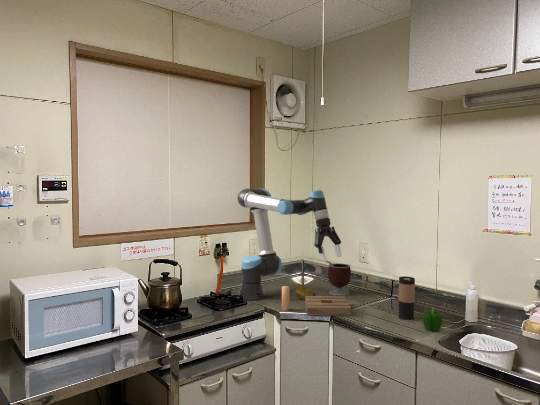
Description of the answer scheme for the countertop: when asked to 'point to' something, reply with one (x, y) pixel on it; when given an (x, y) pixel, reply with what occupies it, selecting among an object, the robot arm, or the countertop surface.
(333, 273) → the mate gourd
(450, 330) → the countertop surface
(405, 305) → the travel mug
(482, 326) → the countertop surface
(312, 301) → the hole block
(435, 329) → the bell pepper
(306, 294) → the potato
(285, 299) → the peg
